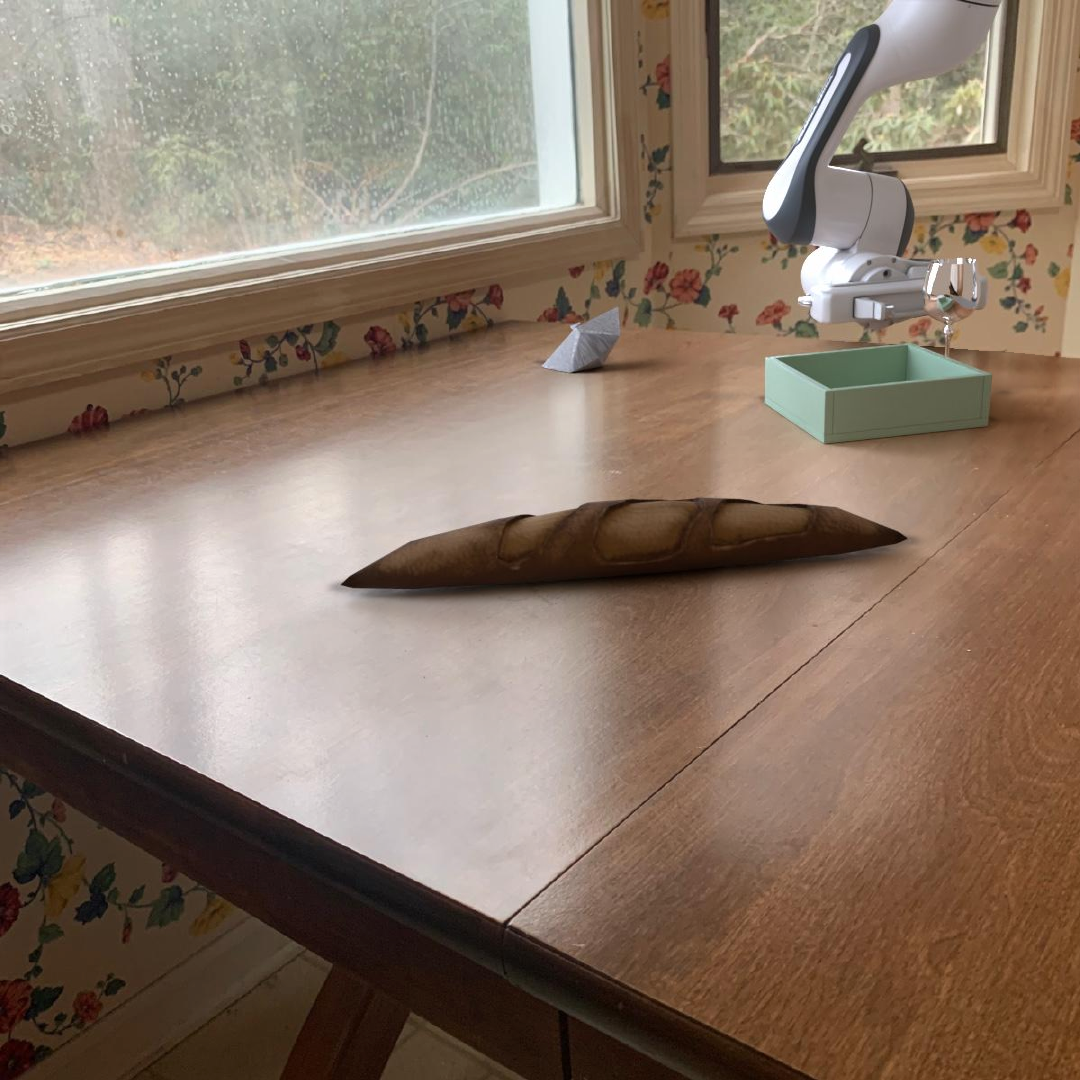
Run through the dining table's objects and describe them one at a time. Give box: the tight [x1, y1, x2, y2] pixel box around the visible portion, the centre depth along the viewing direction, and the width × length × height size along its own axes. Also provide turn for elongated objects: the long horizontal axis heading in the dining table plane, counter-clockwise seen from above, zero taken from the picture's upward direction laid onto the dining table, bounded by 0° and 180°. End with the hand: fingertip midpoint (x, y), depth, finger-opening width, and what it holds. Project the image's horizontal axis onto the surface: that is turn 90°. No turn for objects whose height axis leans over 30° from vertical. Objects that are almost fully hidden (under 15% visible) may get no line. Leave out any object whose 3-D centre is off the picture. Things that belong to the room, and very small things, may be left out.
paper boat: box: [541, 306, 621, 374], centre depth 133 cm, size 12×6×9 cm
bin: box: [764, 342, 993, 445], centre depth 104 cm, size 16×16×5 cm
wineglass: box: [922, 257, 981, 358], centre depth 116 cm, size 6×6×12 cm
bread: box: [340, 496, 909, 590], centre depth 72 cm, size 38×5×5 cm, turn 93°
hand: (928, 308), depth 120 cm, fingers open, 8 cm apart
